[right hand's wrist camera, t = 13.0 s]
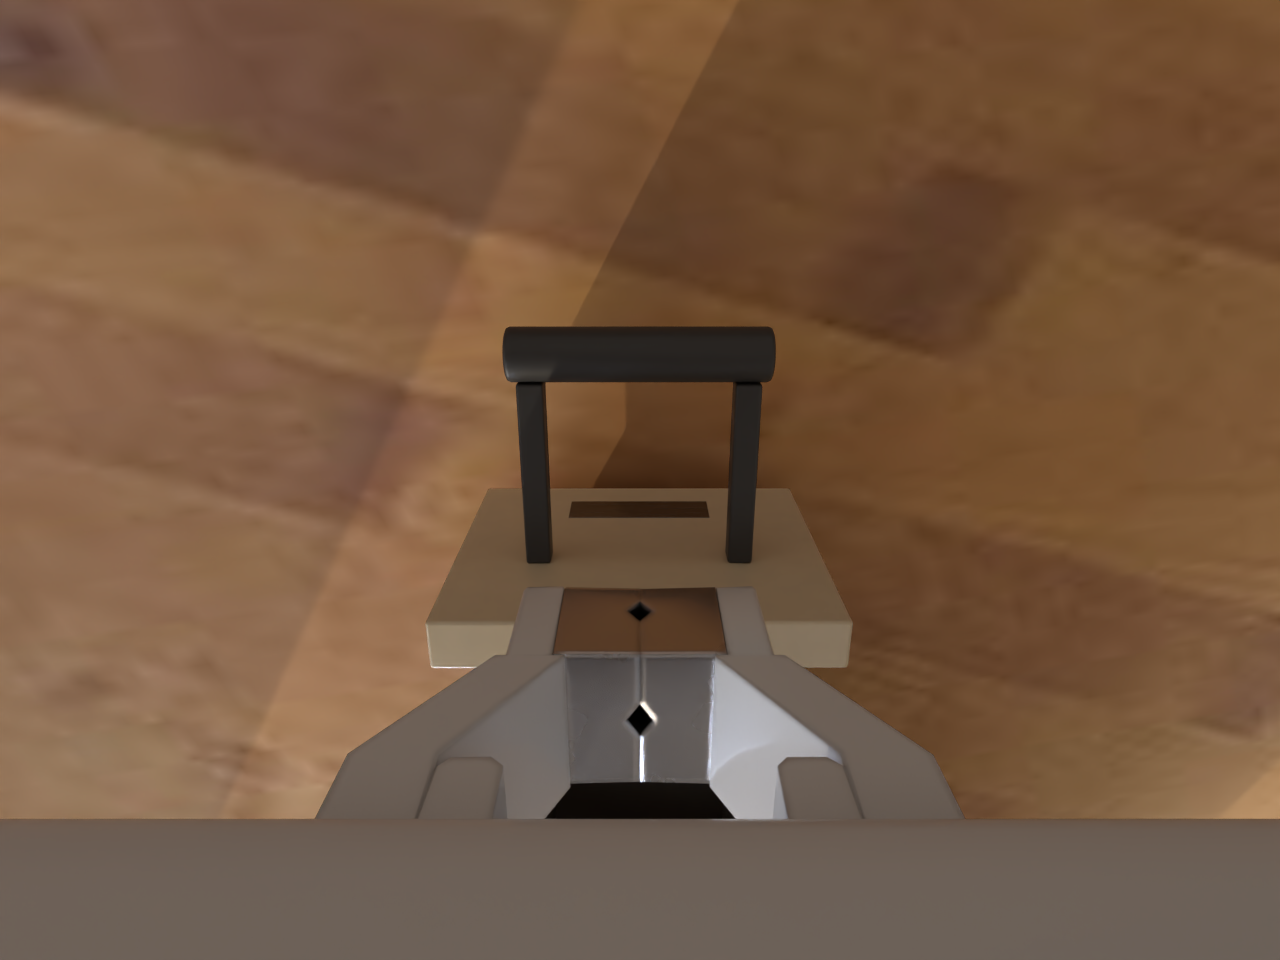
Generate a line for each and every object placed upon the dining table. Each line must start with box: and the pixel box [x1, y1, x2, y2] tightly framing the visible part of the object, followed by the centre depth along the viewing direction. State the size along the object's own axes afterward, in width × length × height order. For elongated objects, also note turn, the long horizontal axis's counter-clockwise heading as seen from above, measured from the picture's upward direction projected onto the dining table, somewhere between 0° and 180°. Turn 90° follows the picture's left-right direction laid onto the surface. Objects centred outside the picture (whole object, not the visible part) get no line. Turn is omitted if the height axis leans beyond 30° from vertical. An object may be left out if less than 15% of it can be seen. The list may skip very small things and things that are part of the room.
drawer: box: [426, 327, 853, 819], centre depth 22 cm, size 24×9×8 cm, turn 0°
